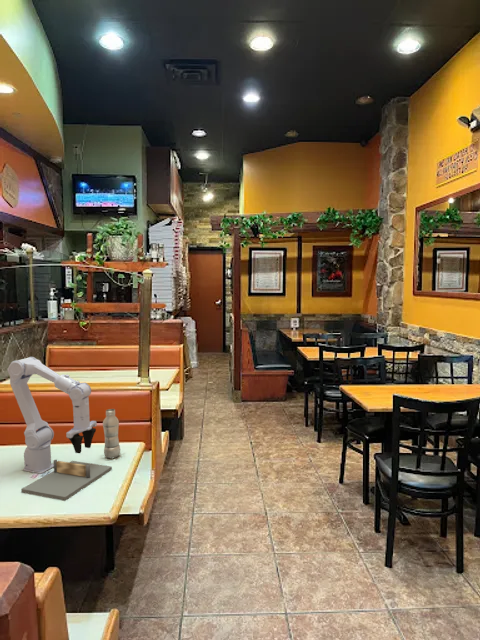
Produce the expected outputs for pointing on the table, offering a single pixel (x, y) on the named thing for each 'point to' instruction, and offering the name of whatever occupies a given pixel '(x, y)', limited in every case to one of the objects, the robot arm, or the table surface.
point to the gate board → (65, 482)
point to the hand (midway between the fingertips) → (83, 450)
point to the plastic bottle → (111, 434)
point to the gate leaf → (71, 468)
